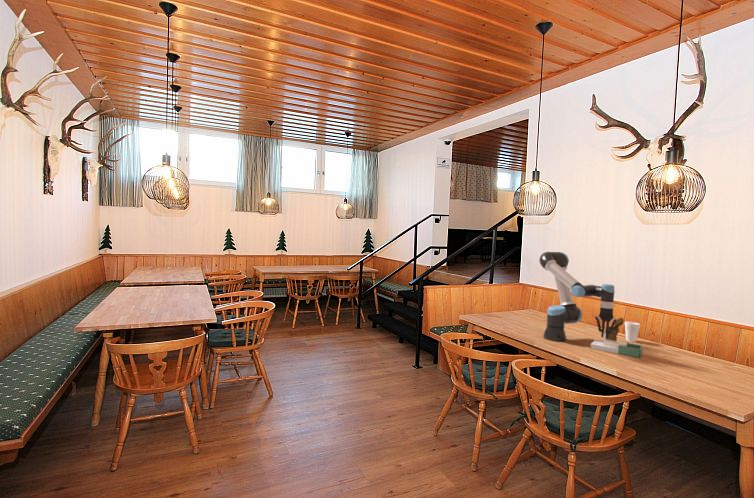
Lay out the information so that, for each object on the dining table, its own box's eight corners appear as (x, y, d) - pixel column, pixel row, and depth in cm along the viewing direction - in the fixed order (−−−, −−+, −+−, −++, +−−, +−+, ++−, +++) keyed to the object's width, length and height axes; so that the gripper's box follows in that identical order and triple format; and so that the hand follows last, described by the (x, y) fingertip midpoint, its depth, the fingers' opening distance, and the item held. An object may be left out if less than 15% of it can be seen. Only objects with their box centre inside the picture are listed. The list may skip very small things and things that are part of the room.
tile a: (604, 345, 270) (605, 341, 270) (606, 343, 274) (606, 339, 274) (615, 347, 266) (615, 343, 266) (616, 345, 271) (616, 341, 270)
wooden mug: (625, 344, 286) (627, 319, 285) (609, 345, 283) (611, 319, 282) (615, 341, 295) (617, 316, 294) (599, 341, 291) (601, 316, 290)
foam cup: (625, 338, 305) (627, 321, 304) (640, 341, 298) (641, 323, 297) (622, 340, 298) (623, 322, 297) (636, 343, 291) (638, 325, 291)
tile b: (615, 347, 266) (615, 343, 266) (616, 345, 271) (616, 341, 270) (625, 349, 262) (626, 345, 262) (627, 347, 267) (627, 343, 267)
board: (590, 348, 272) (590, 343, 272) (594, 344, 282) (594, 340, 282) (617, 353, 262) (618, 349, 262) (620, 349, 272) (621, 345, 272)
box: (617, 353, 262) (618, 345, 262) (620, 349, 272) (621, 341, 272) (639, 358, 255) (640, 349, 255) (642, 354, 264) (642, 345, 264)
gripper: (594, 306, 272) (592, 341, 273) (617, 309, 264) (614, 345, 265) (597, 305, 278) (594, 339, 279) (618, 308, 270) (616, 343, 271)
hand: (604, 342), depth 272 cm, fingers closed
